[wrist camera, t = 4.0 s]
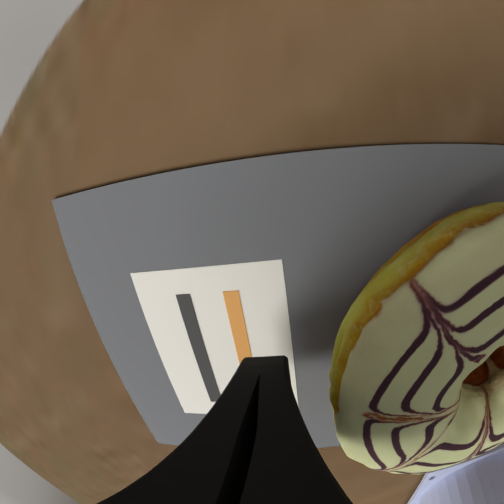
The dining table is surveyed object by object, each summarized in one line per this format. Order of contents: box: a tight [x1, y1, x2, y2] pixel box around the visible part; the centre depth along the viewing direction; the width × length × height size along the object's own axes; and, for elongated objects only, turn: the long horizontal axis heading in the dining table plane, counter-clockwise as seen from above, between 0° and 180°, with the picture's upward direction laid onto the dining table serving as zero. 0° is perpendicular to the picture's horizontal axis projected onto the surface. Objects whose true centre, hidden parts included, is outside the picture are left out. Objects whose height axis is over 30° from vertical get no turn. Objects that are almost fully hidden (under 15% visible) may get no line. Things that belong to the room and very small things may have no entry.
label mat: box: [52, 144, 504, 448], centre depth 10 cm, size 13×20×1 cm, turn 99°
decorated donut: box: [329, 202, 504, 474], centre depth 8 cm, size 10×11×4 cm
